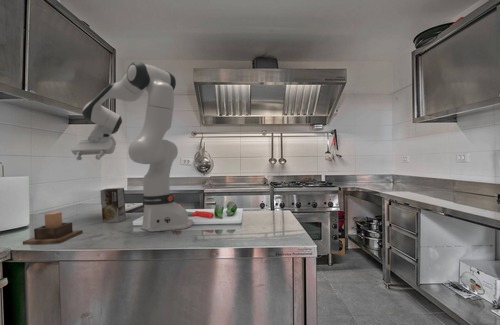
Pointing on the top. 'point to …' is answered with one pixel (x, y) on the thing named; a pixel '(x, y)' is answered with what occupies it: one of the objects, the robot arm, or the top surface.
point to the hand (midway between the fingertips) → (87, 159)
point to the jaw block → (53, 219)
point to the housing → (53, 234)
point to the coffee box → (113, 205)
